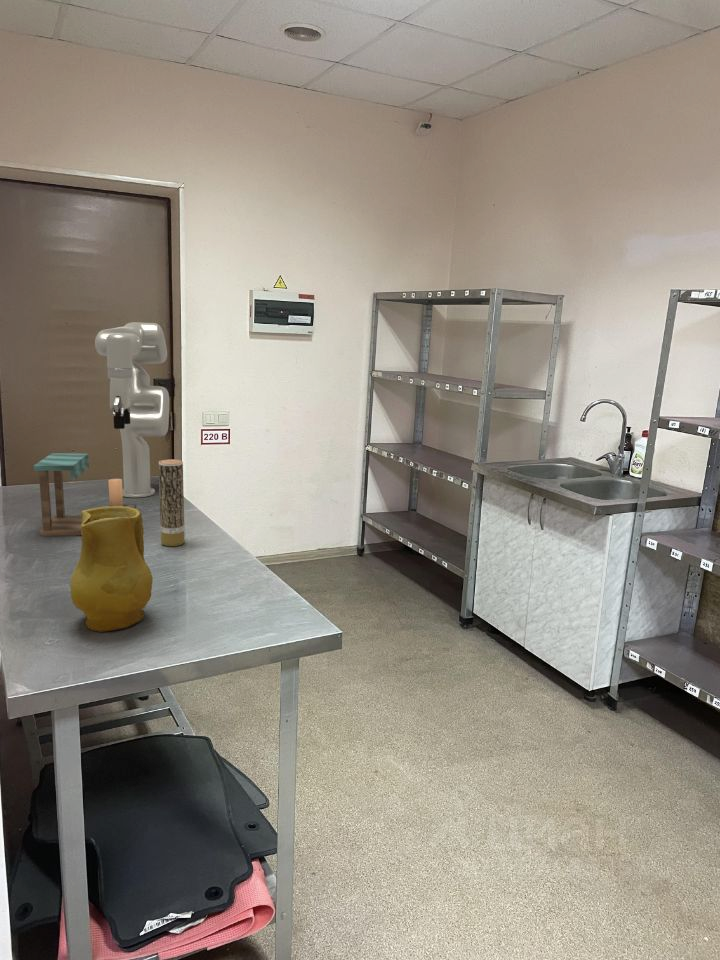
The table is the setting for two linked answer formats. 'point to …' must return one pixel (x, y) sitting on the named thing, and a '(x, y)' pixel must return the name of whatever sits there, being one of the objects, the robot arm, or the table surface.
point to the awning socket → (61, 493)
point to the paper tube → (171, 502)
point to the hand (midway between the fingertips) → (122, 426)
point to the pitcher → (111, 569)
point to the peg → (115, 492)
